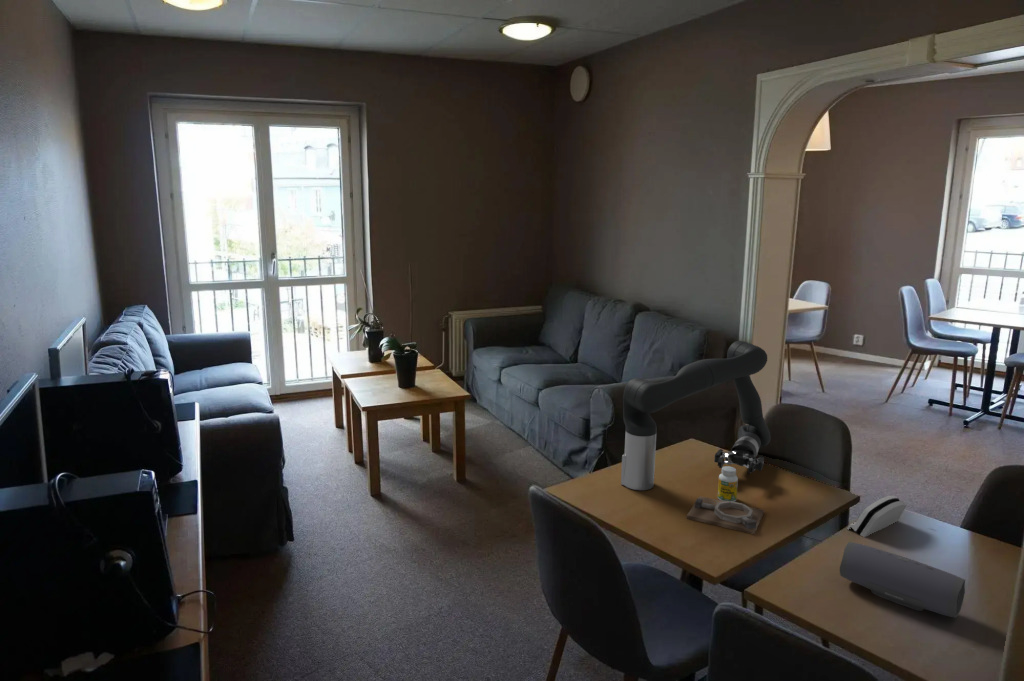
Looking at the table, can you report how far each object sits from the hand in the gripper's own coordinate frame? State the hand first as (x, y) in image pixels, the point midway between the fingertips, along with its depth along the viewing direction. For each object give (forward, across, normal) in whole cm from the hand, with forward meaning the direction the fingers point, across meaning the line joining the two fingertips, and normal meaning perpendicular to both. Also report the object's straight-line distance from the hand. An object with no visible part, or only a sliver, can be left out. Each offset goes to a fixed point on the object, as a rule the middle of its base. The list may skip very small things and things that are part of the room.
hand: (734, 467), depth 207 cm
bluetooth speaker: (+42, +44, +7) cm, 61 cm away
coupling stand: (+20, +2, +6) cm, 21 cm away
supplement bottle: (+9, 0, +7) cm, 11 cm away
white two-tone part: (+7, +39, +7) cm, 40 cm away
